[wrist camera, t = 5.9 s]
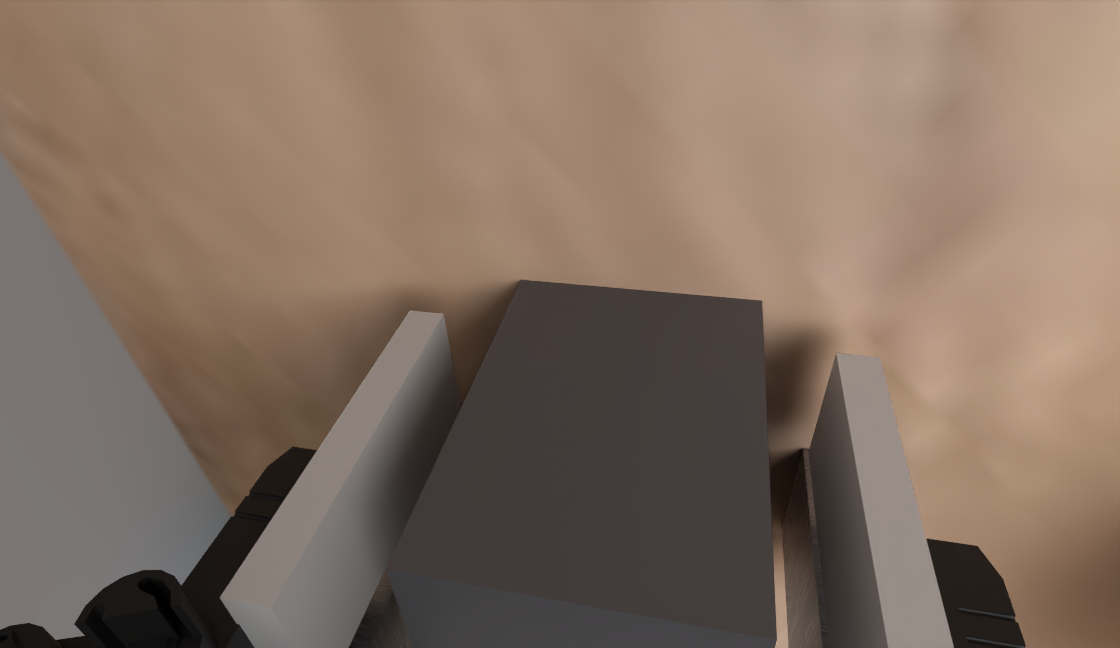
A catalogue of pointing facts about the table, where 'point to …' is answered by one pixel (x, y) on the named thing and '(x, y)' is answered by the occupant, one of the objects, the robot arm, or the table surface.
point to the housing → (387, 642)
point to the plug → (601, 482)
